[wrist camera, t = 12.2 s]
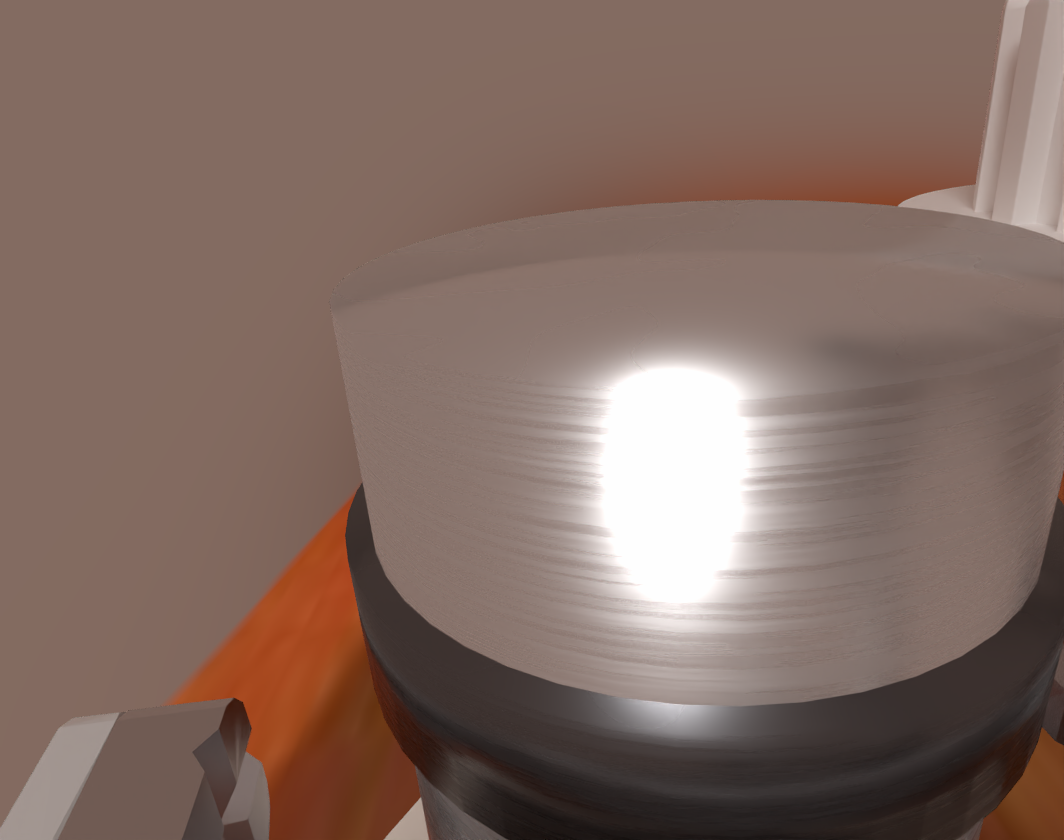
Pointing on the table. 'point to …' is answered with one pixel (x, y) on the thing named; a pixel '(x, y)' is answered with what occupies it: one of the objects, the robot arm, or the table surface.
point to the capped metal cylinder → (710, 518)
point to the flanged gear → (1019, 128)
